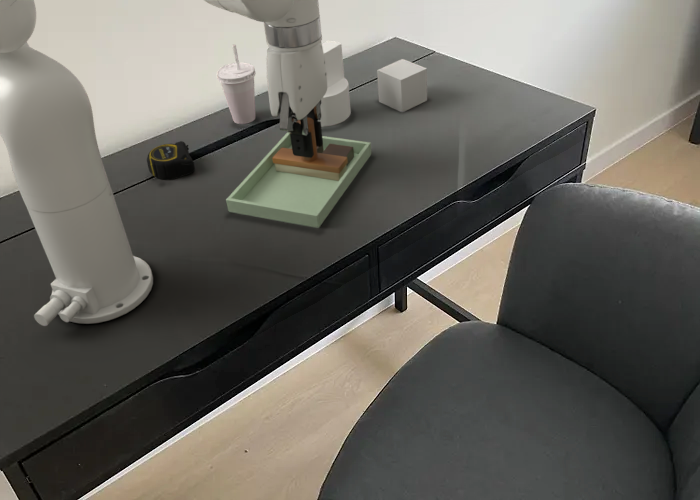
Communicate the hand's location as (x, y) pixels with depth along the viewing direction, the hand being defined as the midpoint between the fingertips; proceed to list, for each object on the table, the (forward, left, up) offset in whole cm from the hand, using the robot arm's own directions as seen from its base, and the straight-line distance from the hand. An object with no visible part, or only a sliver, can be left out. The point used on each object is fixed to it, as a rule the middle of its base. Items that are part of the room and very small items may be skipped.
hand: (308, 149), depth 111 cm
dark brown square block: (+4, +2, -4) cm, 6 cm away
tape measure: (-4, +21, -5) cm, 22 cm away
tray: (-3, 0, -5) cm, 5 cm away
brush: (0, 0, -4) cm, 4 cm away
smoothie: (+13, +18, -5) cm, 23 cm away
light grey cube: (+27, -6, -5) cm, 28 cm away
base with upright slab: (+18, +5, -5) cm, 19 cm away
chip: (+4, -3, -4) cm, 6 cm away
